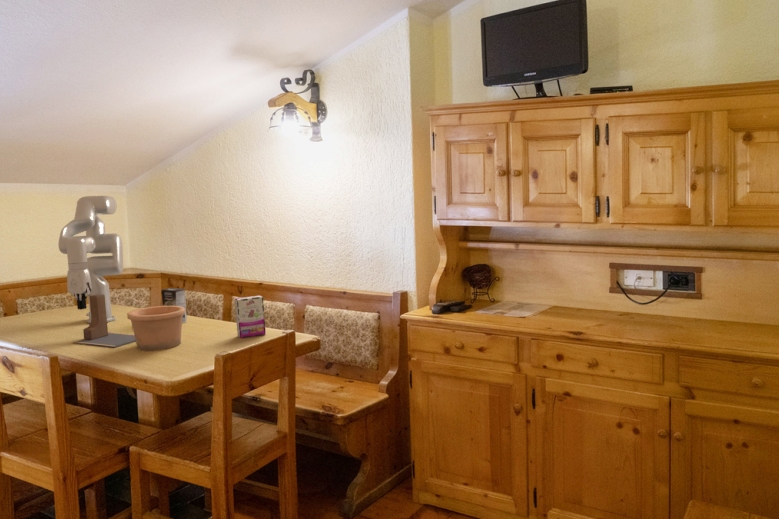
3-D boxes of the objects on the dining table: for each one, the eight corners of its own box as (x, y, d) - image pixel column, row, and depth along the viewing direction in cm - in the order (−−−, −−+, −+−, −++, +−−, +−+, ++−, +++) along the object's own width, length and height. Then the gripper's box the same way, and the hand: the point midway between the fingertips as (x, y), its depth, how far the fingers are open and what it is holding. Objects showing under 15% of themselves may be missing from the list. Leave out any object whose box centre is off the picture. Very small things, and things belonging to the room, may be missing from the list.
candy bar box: (262, 332, 275) (260, 294, 273) (266, 334, 271) (263, 296, 269) (236, 336, 270) (234, 297, 268) (239, 338, 266) (237, 299, 264)
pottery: (131, 355, 244) (128, 318, 243) (129, 343, 264) (126, 309, 263) (190, 348, 253) (187, 312, 251) (184, 336, 273) (181, 303, 271)
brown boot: (91, 340, 269) (87, 298, 267) (83, 339, 271) (79, 297, 269) (108, 335, 277) (105, 294, 275) (101, 334, 279) (97, 294, 277)
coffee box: (163, 323, 301) (160, 289, 299) (173, 320, 307) (171, 287, 305) (177, 324, 297) (174, 290, 295) (187, 321, 303) (185, 288, 301)
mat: (73, 343, 268) (73, 341, 267) (108, 333, 284) (108, 332, 284) (114, 348, 257) (114, 346, 257) (148, 337, 273) (148, 336, 273)
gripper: (58, 267, 274) (62, 309, 276) (82, 268, 267) (86, 311, 269) (73, 265, 280) (77, 306, 282) (97, 266, 274) (101, 308, 276)
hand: (82, 308), depth 276 cm, fingers closed
